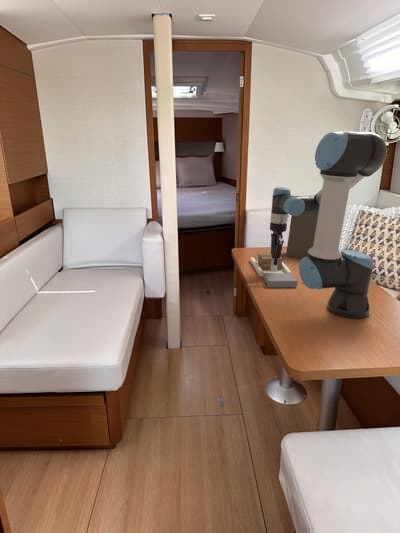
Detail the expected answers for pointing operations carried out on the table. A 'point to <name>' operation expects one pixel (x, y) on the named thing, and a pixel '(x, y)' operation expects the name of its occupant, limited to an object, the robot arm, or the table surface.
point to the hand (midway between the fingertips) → (273, 270)
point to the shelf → (255, 263)
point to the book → (301, 234)
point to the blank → (267, 261)
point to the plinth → (279, 280)
